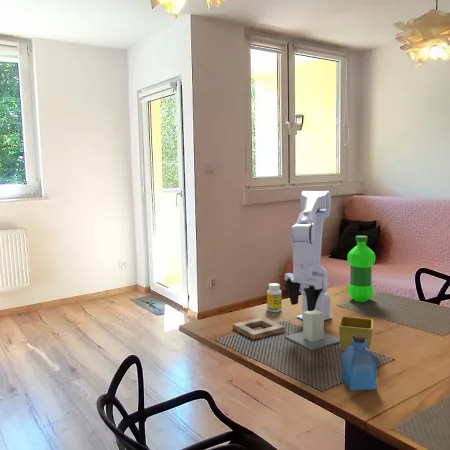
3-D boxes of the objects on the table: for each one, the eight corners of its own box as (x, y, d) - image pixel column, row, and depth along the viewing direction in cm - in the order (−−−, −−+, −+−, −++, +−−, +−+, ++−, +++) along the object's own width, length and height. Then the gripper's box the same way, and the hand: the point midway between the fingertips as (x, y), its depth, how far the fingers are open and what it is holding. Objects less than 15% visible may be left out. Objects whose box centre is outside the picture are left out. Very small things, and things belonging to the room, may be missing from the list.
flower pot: (372, 349, 130) (373, 318, 129) (371, 361, 122) (372, 328, 121) (341, 345, 133) (341, 315, 132) (338, 357, 125) (338, 325, 124)
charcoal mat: (314, 330, 146) (314, 328, 146) (342, 341, 136) (342, 340, 136) (285, 337, 140) (285, 336, 140) (311, 350, 130) (311, 349, 130)
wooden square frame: (263, 321, 155) (263, 317, 155) (284, 331, 145) (284, 326, 145) (232, 328, 149) (232, 323, 149) (253, 339, 139) (253, 334, 139)
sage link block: (314, 334, 141) (314, 309, 140) (323, 338, 137) (323, 312, 136) (303, 337, 139) (303, 312, 138) (312, 341, 135) (312, 315, 134)
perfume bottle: (341, 378, 113) (342, 331, 111) (365, 377, 113) (366, 330, 112) (350, 390, 107) (351, 341, 105) (376, 388, 107) (377, 339, 106)
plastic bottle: (344, 296, 183) (345, 234, 180) (371, 296, 182) (372, 234, 179) (348, 303, 173) (349, 238, 170) (377, 303, 172) (378, 238, 169)
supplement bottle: (275, 306, 171) (275, 281, 170) (284, 310, 167) (284, 284, 166) (264, 309, 168) (263, 284, 167) (273, 313, 164) (273, 287, 163)
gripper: (277, 261, 142) (277, 303, 144) (309, 269, 130) (308, 316, 131) (294, 258, 146) (294, 299, 147) (327, 266, 133) (327, 311, 135)
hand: (302, 307), depth 140 cm, fingers open, 7 cm apart
